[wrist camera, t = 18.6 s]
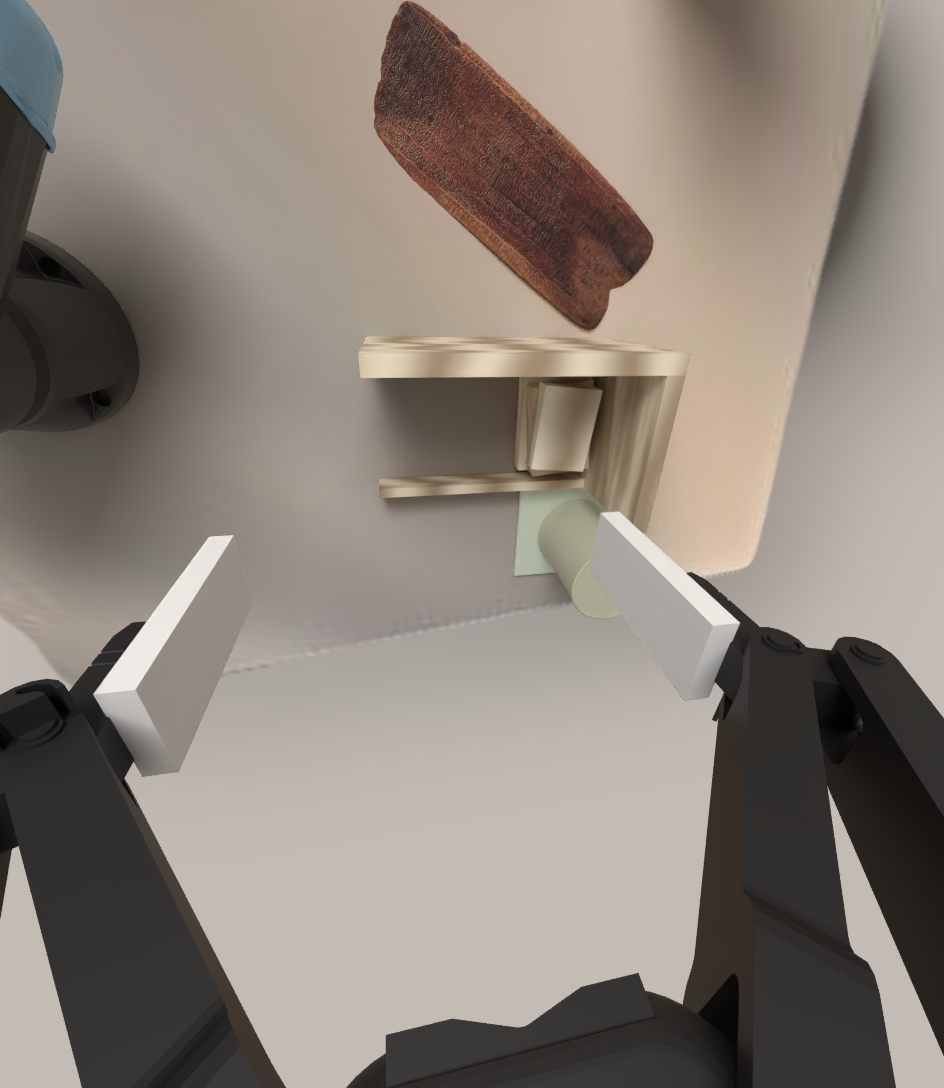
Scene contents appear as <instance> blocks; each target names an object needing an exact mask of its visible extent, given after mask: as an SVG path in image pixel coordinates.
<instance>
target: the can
mask: <svg viewBox="0 0 944 1088" xmlns="http://www.w3.org/2000/svg"><path fill="white" fill-rule="evenodd" d="M600 513H605V512H604V510H603V509H602V508H601V507H600V506H599V505H597V504H596V503H594V502H592V501H588V500H581V499H580V500H571V501H568V502H565V503H563V504H561V505H559V506H557V507H556V508H554V509H553V510H552V511H551V512H550V513H549V514H548V515H547V516H546V517H545V519H544V520H543V522H542V524H541V526H540V528H539V532H538V545H539V548H540V550H541V552H542V554H543V555H544V556H545V557H546V558H547V559H548V561H549V563H550V564H551V566H552V567H553V569H554V570H555V572H556V574H557V575H558V577H559V579H560V580H561V582H562V583H563V585H564V587H565V589H566V590H567V592H568V594H569V595H570V597H571V599H572V601H573V603H574V605H575V607H576V608H577V609H578V610H579V611H580V612H581V613H582V614H584V615H586V616H588V617H591V618H596V619H608V618H613V617H617V616H620V613H619V612H618V611H617V609H616V608H615V607H614V605H613V604H612V603H611V601H610V600H609V598H608V597H607V596H606V594H605V593H604V592H603V590H602V589H601V588H600V586H599V585H598V584H597V582H596V581H595V580H594V578H593V577H592V575H591V574H590V573H589V572H590V567H591V562H592V556H593V551H594V545H595V540H596V535H597V529H598V524H599V518H600Z"/></svg>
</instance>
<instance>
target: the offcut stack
mask: <svg viewBox="0 0 944 1088" xmlns="http://www.w3.org/2000/svg"><path fill="white" fill-rule="evenodd" d="M591 379H592V376H560V377H519V390H518V405H517V419H516V433H515V448H514V462H513V465H514V466H515V467H516V469H517V470H528V471H529V472H530V474H531V475H532V476H540V475H547V474H554V473H560V472H567V471H580V472H583V470H584V469H587V468H589V452H590V441H591V437H592V433H593V429H594V424H595V420H596V416H597V412H598V408H599V404H600V400H601V395H602V391H603V390H601V389H598V388H596V387H594V386H593V382H594V380H591Z"/></svg>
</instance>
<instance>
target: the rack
mask: <svg viewBox="0 0 944 1088" xmlns="http://www.w3.org/2000/svg"><path fill="white" fill-rule="evenodd" d="M690 355H691V354H688V353H683V352H677V351H672V350H667V349H661V348H656V347H650V346H645V345H640V344H634V343H629V342H624V341H618V340H613V339H608V338H471V337H366V339H365V341H364V343H363V345H362V347H361V349H360V351H359V353H358V357H359V367H360V377H361V378H430V377H560V376H592V379H591V380H594V382H593V386H594V387H596V388H598V389H601V390H603V391H602V395H601V400H600V404H599V408H598V412H597V416H596V420H595V424H594V429H593V433H592V437H591V441H590V452H589V468H587V469H584V470H583V472H580V471H567V472H560V473H554V474H547V475H540V476H532V475H531V474H530V472H519V473H497V474H474V475H451V476H429V477H406V478H383V479H380V483H379V491H380V498H391V497H411V496H430V495H450V494H469V493H489V492H509V491H528V490H548V489H567V488H584V489H585V490H586V491H587V492H588V493H589V494H591V495H592V496H593V497H594V498H595V499H596V500H597V501H598V502H599V503H600V504H601V505H602V506H603V507H604V508H605V509H606V510H607V511H608V512H620V513H621V514H622V515H623V516H624V517H625V518H627V519H628V520H629V521H630V522H631V523H632V524H633V525H634V526H635V527H636V528H637V529H639V530H640V531H641V532H642V533H646V531H647V527H648V523H649V519H650V515H651V511H652V507H653V503H654V499H655V495H656V491H657V487H658V483H659V479H660V475H661V471H662V467H663V463H664V459H665V455H666V451H667V447H668V443H669V439H670V435H671V431H672V427H673V423H674V419H675V415H676V411H677V407H678V403H679V399H680V395H681V391H682V387H683V383H684V379H685V375H686V371H687V367H688V363H689V359H690Z"/></svg>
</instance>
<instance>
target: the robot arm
mask: <svg viewBox="0 0 944 1088" xmlns="http://www.w3.org/2000/svg"><path fill="white" fill-rule="evenodd" d="M62 82H63V67H62V62H61V58H60V55H59V52H58V50H57V47H56V45H55V43H54V40H53V38H52V36H51V34H50V33H49V31H48V30H47V28H46V27H45V25H44V24H43V22H42V21H41V19H40V18H39V17H38V15H37V14H36V12H35V11H34V10H33V9H32V7H31V6H30V5H29V4H28V3H27V1H26V0H0V433H1V432H4V431H6V430H9V429H10V430H27V431H44V432H63V431H71V430H77V429H81V428H85V427H88V426H90V425H93V424H95V423H98V422H100V421H102V420H105V419H107V418H109V417H110V416H112V415H114V414H115V413H116V412H118V411H119V410H120V409H121V408H122V407H123V406H124V405H125V404H126V403H127V401H128V400H129V399H130V397H131V395H132V393H133V391H134V389H135V386H136V383H137V378H138V370H139V360H138V351H137V346H136V342H135V339H134V335H133V333H132V330H131V327H130V325H129V323H128V321H127V319H126V317H125V315H124V313H123V311H122V310H121V308H120V306H119V305H118V303H117V302H116V300H115V299H114V297H113V296H112V295H111V293H110V292H109V291H108V290H107V288H106V287H105V286H104V285H103V284H102V283H101V282H100V280H99V279H98V278H97V277H96V276H95V275H94V274H93V273H92V272H91V271H90V270H89V269H87V268H86V267H85V266H84V265H83V264H82V263H80V262H79V261H78V260H77V259H75V258H74V257H73V256H71V255H70V254H69V253H67V252H66V251H64V250H63V249H61V248H60V247H58V246H56V245H55V244H53V243H51V242H49V241H48V240H46V239H44V238H42V237H40V236H38V235H35V234H33V233H30V232H28V231H26V230H27V226H28V222H29V218H30V215H31V211H32V207H33V203H34V199H35V196H36V192H37V188H38V184H39V181H40V177H41V173H42V169H43V166H44V162H45V158H46V154H47V151H48V152H50V153H54V151H55V147H56V141H55V138H54V136H53V134H52V132H53V127H54V122H55V117H56V112H57V108H58V103H59V98H60V93H61V88H62ZM589 573H590V574H591V575H592V577H593V578H594V580H595V581H596V582H597V584H598V585H599V586H600V588H601V589H602V590H603V592H604V593H605V594H606V596H607V597H608V598H609V600H610V601H611V603H612V604H613V605H614V607H615V608H616V609H617V611H618V612H619V613H620V615H621V616H622V617H623V619H624V620H625V621H626V623H627V624H628V626H629V627H630V628H631V630H632V631H633V632H634V634H635V635H636V636H637V638H638V639H639V640H640V642H641V643H642V644H643V646H644V647H645V649H646V650H647V651H648V653H649V654H650V655H651V657H652V658H653V659H654V661H655V662H656V663H657V665H658V666H659V667H660V669H661V670H662V672H663V673H664V674H665V676H666V677H667V678H668V680H669V681H670V682H671V684H672V685H673V686H674V688H675V689H676V690H677V692H678V693H679V694H680V696H681V697H682V699H683V700H684V701H688V700H695V699H702V698H708V697H709V695H710V693H711V690H712V688H713V686H714V683H715V682H716V683H717V685H718V686H719V687H720V688H721V689H722V690H723V692H724V694H723V696H722V698H721V701H720V703H719V705H718V707H717V710H716V712H715V714H714V716H713V719H712V720H714V721H717V719H718V727H717V738H716V747H715V757H714V767H713V777H712V787H711V797H710V807H709V817H708V828H707V837H706V847H705V857H704V867H703V868H704V869H703V877H702V887H701V898H700V907H699V918H698V927H697V937H696V947H695V955H694V960H693V965H692V969H691V972H690V975H689V979H688V982H687V986H686V990H685V995H684V1000H683V1005H682V1004H680V1003H678V1002H675V1001H674V1000H671V999H669V998H667V997H665V996H662V995H658V994H655V993H652V992H648V991H645V989H644V987H643V984H642V981H641V979H640V976H639V973H637V974H633V975H628V976H624V977H620V978H616V979H612V980H608V981H604V982H600V983H595V984H591V985H587V986H583V987H580V988H579V989H578V990H576V991H575V992H574V993H572V994H571V995H569V996H568V997H567V998H565V999H564V1000H562V1001H561V1002H559V1003H558V1004H557V1005H555V1006H554V1007H552V1008H551V1009H550V1010H548V1011H547V1012H545V1013H544V1014H543V1015H541V1016H540V1017H539V1018H537V1019H536V1020H534V1021H533V1022H532V1023H530V1024H529V1025H527V1026H524V1027H520V1028H518V1027H517V1028H516V1027H509V1026H502V1025H494V1024H487V1023H479V1022H472V1021H465V1020H458V1019H449V1020H445V1021H441V1022H437V1023H433V1024H430V1025H425V1026H421V1027H417V1028H413V1029H409V1030H405V1031H400V1032H397V1033H393V1034H388V1035H386V1054H384V1055H383V1056H381V1057H380V1058H378V1059H377V1060H375V1061H374V1062H372V1063H371V1064H370V1065H369V1066H368V1067H367V1068H366V1069H364V1070H363V1071H362V1072H361V1073H360V1074H359V1075H358V1076H356V1077H355V1078H354V1080H353V1081H352V1082H351V1083H350V1084H349V1085H348V1086H347V1088H896V1085H895V1080H894V1074H893V1068H892V1062H891V1056H890V1051H889V1045H888V1039H887V1034H886V1028H885V1022H884V1016H883V1010H882V1005H881V999H880V993H879V990H878V986H877V982H876V979H875V975H874V973H873V971H872V970H871V968H870V966H869V964H868V962H866V961H865V960H863V959H862V958H860V957H859V956H857V955H856V954H854V952H853V950H852V948H851V946H850V942H849V938H848V931H847V925H846V917H845V910H844V902H843V896H842V889H841V881H840V874H839V867H838V860H837V853H836V845H835V838H834V831H833V824H832V817H831V810H830V803H829V795H828V789H827V786H828V788H829V791H830V793H831V795H832V798H833V800H834V802H835V805H836V807H837V809H838V811H839V814H840V816H841V819H842V821H843V823H844V825H845V828H846V830H847V833H848V835H849V837H850V839H851V842H852V844H853V846H854V849H855V851H856V853H857V856H858V858H859V860H860V862H861V865H862V867H863V870H864V872H865V874H866V877H867V879H868V881H869V884H870V886H871V888H872V891H873V893H874V895H875V897H876V900H877V902H878V904H879V906H880V909H881V911H882V914H883V916H884V918H885V921H886V923H887V925H888V928H889V930H890V932H891V935H892V937H893V939H894V941H895V944H896V946H897V949H898V951H899V953H900V956H901V958H902V960H903V962H904V965H905V967H906V969H907V972H908V974H909V976H910V979H911V981H912V983H913V985H914V988H915V990H916V993H917V995H918V997H919V1000H920V1002H921V1004H922V1006H923V1009H924V1011H925V1014H926V1016H927V1018H928V1021H929V1023H930V1025H931V1027H932V1030H933V1032H934V1034H935V1037H936V1039H937V1041H938V1044H939V1046H940V1048H941V1051H942V1053H943V1055H944V718H943V717H942V715H941V714H940V713H939V712H938V710H937V709H936V708H935V706H934V705H933V704H932V702H931V701H930V700H929V699H928V697H927V696H926V695H925V694H924V692H923V691H922V690H921V688H920V687H919V686H918V685H917V683H916V682H915V681H914V679H913V678H912V677H911V676H910V674H909V673H908V672H907V670H906V669H905V668H904V667H903V665H902V664H901V663H900V662H899V660H898V659H897V658H896V657H895V656H894V655H893V654H892V653H890V652H889V651H887V650H886V649H884V648H882V647H881V646H880V645H877V644H876V643H872V642H871V641H868V640H864V639H860V638H856V637H842V638H839V639H838V640H837V641H836V643H835V645H834V647H833V648H832V650H823V649H815V648H807V647H806V646H805V645H804V644H802V642H800V641H799V640H798V639H797V638H795V637H793V636H792V635H790V634H788V633H786V632H783V631H781V630H778V629H774V628H769V627H759V626H758V625H757V624H756V623H755V622H754V621H752V620H751V619H750V618H749V617H748V616H747V615H746V614H744V613H743V612H742V611H741V610H740V609H739V608H738V607H736V606H735V605H734V604H733V603H732V602H731V601H728V600H727V598H726V597H725V596H724V595H723V594H722V593H720V592H718V590H717V589H716V588H715V587H714V586H713V585H712V584H710V583H709V582H708V581H707V580H705V579H703V578H701V577H700V576H698V575H696V574H694V573H692V572H689V573H685V572H684V571H683V570H682V569H681V568H680V567H679V566H678V565H677V564H676V563H674V562H673V561H672V560H671V559H670V558H669V557H668V556H667V555H666V554H665V553H664V552H662V551H661V550H660V549H659V548H658V547H657V546H656V545H655V544H654V543H653V542H652V541H651V540H649V539H648V538H647V537H646V536H645V535H644V534H643V533H642V532H641V531H640V530H639V529H637V528H636V527H635V526H634V525H633V524H632V523H631V522H630V521H629V520H628V519H627V518H625V517H624V516H623V515H622V514H621V513H620V512H605V513H600V518H599V524H598V529H597V535H596V540H595V545H594V551H593V556H592V562H591V567H590V572H589ZM252 603H253V599H252V596H251V592H250V589H249V585H248V582H247V578H246V575H245V572H244V568H243V565H242V561H241V558H240V554H239V551H238V548H237V544H236V541H235V537H234V535H230V536H214V537H209V538H208V539H207V540H206V542H205V543H204V545H203V546H202V547H201V549H200V550H199V551H198V553H197V554H196V555H195V557H194V558H193V559H192V561H191V562H190V564H189V565H188V566H187V568H186V569H185V570H184V572H183V573H182V574H181V576H180V577H179V578H178V580H177V581H176V583H175V584H174V585H173V587H172V588H171V589H170V591H169V592H168V593H167V595H166V596H165V597H164V599H163V600H162V602H161V603H160V604H159V606H158V607H157V608H156V610H155V611H154V612H153V614H152V615H151V616H150V618H149V619H148V621H146V622H134V623H131V624H130V625H128V626H127V627H125V628H124V629H123V630H121V631H120V632H119V633H117V634H116V635H114V636H113V637H112V638H111V640H110V641H109V642H108V643H107V645H106V646H105V647H104V648H103V650H102V651H101V652H102V653H101V654H99V655H98V656H97V657H96V658H95V660H94V661H93V662H92V663H91V664H92V666H90V667H88V668H87V670H86V671H85V672H84V673H83V675H82V676H81V677H80V678H79V680H78V681H77V682H76V683H75V685H74V686H73V687H72V688H71V690H70V691H69V692H68V690H67V688H66V687H65V685H64V684H62V683H61V682H60V681H59V680H52V679H43V680H37V681H32V682H29V683H26V684H23V685H21V686H17V687H14V688H12V689H11V690H9V691H7V692H5V693H3V694H1V695H0V917H1V911H2V905H3V899H4V893H5V887H6V881H7V875H8V869H9V863H10V857H11V851H12V849H13V848H15V847H18V846H19V849H20V853H21V856H22V860H23V864H24V868H25V872H26V875H27V879H28V883H29V887H30V891H31V894H32V898H33V902H34V906H35V910H36V914H37V917H38V921H39V925H40V929H41V933H42V937H43V940H44V944H45V948H46V952H47V956H48V959H49V963H50V967H51V971H52V974H53V979H54V983H55V986H56V990H57V994H58V997H59V1002H60V1005H61V1009H62V1013H63V1017H64V1020H65V1025H66V1028H67V1032H68V1036H69V1040H70V1044H71V1047H72V1051H73V1055H74V1059H75V1063H76V1067H77V1071H78V1074H79V1078H80V1082H81V1086H82V1088H286V1087H285V1085H284V1084H283V1082H282V1080H281V1079H280V1077H279V1075H278V1074H277V1072H276V1070H275V1069H274V1067H273V1065H272V1063H271V1061H270V1059H269V1058H268V1055H267V1054H266V1052H265V1050H264V1048H263V1046H262V1044H261V1042H260V1040H259V1038H258V1036H257V1034H256V1032H255V1030H254V1028H253V1026H252V1024H251V1023H250V1021H249V1019H248V1017H247V1015H246V1013H245V1011H244V1009H243V1007H242V1005H241V1003H240V1001H239V999H238V997H237V995H236V993H235V991H234V989H233V987H232V985H231V983H230V982H229V980H228V978H227V976H226V974H225V972H224V970H223V968H222V966H221V964H220V962H219V960H218V958H217V956H216V954H215V952H214V951H213V948H212V946H211V945H210V943H209V941H208V939H207V937H206V935H205V933H204V931H203V929H202V927H201V925H200V923H199V921H198V920H197V917H196V915H195V913H194V912H193V909H192V908H191V906H190V904H189V902H188V900H187V898H186V896H185V894H184V892H183V890H182V888H181V886H180V884H179V882H178V880H177V878H176V876H175V874H174V872H173V871H172V869H171V867H170V865H169V863H168V861H167V859H166V857H165V855H164V853H163V851H162V849H161V847H160V845H159V843H158V841H157V839H156V837H155V835H154V834H153V832H152V830H151V828H150V826H149V824H148V822H147V820H146V818H145V816H144V814H143V812H142V810H141V808H140V806H139V804H138V803H137V800H136V799H135V797H134V795H133V793H132V791H131V789H130V787H129V785H128V783H127V782H126V780H125V779H124V778H125V776H126V774H127V772H128V771H129V769H130V767H131V765H132V763H133V761H134V763H135V765H136V766H137V768H138V770H139V771H140V773H141V775H142V776H143V777H144V776H152V775H159V774H165V773H173V772H179V770H180V768H181V765H182V763H183V761H184V759H185V756H186V754H187V752H188V749H189V747H190V745H191V742H192V740H193V738H194V736H195V733H196V731H197V728H198V726H199V724H200V722H201V720H202V717H203V715H204V713H205V710H206V708H207V706H208V704H209V701H210V699H211V697H212V694H213V692H214V690H215V687H216V685H217V683H218V681H219V678H220V676H221V674H222V671H223V669H224V667H225V665H226V662H227V660H228V658H229V655H230V653H231V651H232V648H233V646H234V644H235V642H236V639H237V637H238V635H239V632H240V630H241V628H242V626H243V623H244V621H245V619H246V616H247V614H248V612H249V610H250V607H251V605H252Z"/></svg>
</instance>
